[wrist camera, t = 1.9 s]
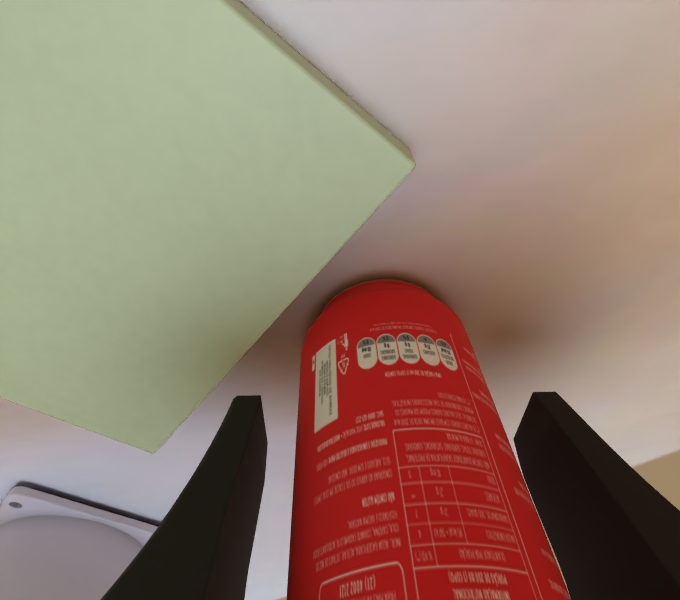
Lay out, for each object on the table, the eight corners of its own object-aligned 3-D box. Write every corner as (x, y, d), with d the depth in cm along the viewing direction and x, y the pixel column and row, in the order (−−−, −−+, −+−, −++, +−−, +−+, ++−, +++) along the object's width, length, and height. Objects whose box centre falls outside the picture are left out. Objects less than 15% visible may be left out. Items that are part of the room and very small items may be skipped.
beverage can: (489, 295, 14) (866, 1038, 4) (414, 398, 17) (537, 977, 7) (335, 246, 13) (370, 1136, 3) (283, 366, 15) (217, 1016, 6)
